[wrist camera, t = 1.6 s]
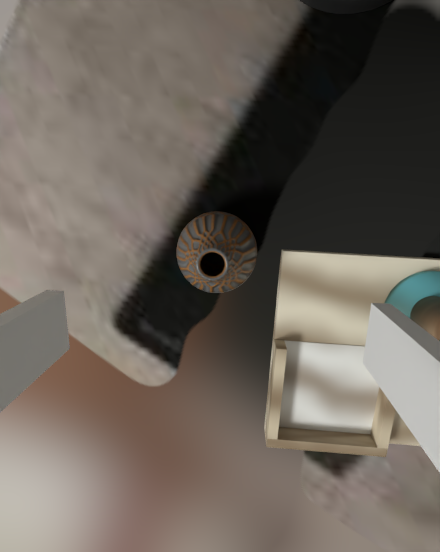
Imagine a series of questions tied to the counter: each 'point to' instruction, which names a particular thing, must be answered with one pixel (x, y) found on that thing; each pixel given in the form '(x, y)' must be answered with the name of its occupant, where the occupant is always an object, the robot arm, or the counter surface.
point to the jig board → (340, 348)
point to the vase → (216, 252)
